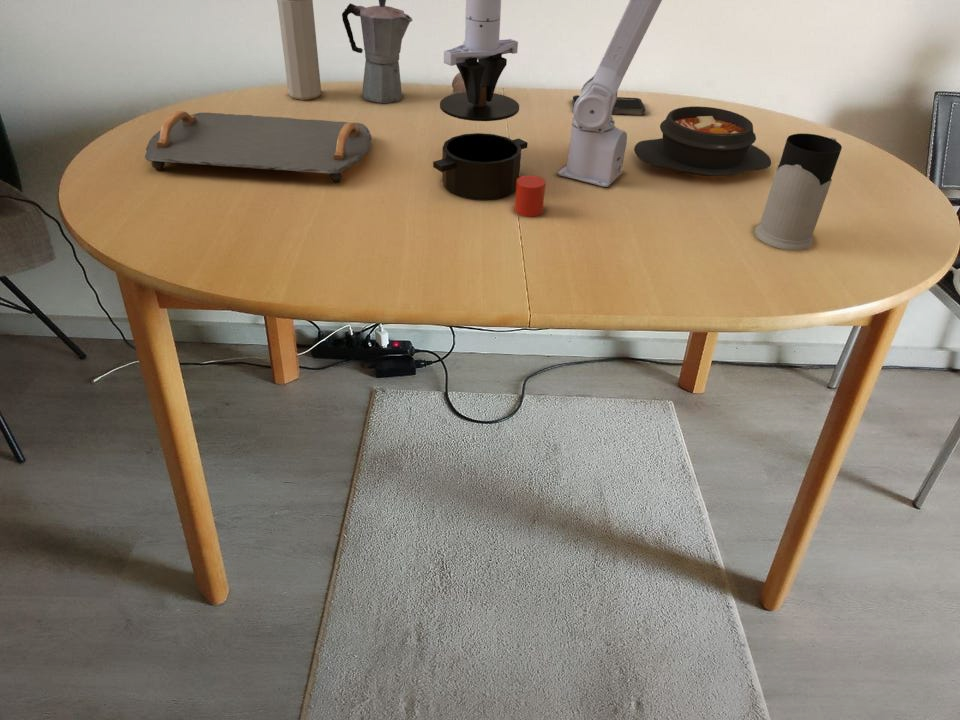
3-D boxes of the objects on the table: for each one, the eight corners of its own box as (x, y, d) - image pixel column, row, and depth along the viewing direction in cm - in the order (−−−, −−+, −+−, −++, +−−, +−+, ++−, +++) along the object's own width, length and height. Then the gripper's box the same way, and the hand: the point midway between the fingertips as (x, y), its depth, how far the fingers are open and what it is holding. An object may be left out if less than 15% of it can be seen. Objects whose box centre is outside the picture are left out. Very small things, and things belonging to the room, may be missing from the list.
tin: (547, 208, 118) (550, 179, 115) (535, 219, 115) (537, 189, 112) (522, 201, 120) (524, 172, 117) (509, 212, 116) (511, 182, 113)
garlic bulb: (470, 88, 165) (471, 51, 160) (491, 97, 161) (492, 59, 156) (443, 94, 161) (444, 56, 156) (464, 103, 157) (465, 65, 152)
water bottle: (320, 102, 154) (307, -30, 139) (283, 100, 154) (266, -32, 139) (328, 88, 162) (316, -38, 146) (292, 86, 161) (277, -40, 146)
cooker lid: (535, 114, 127) (537, 89, 125) (473, 130, 120) (474, 104, 117) (484, 92, 136) (485, 68, 133) (423, 106, 128) (423, 81, 126)
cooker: (545, 184, 125) (549, 148, 121) (461, 211, 116) (462, 173, 112) (497, 159, 133) (499, 125, 129) (415, 183, 124) (414, 146, 120)
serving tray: (130, 173, 123) (120, 137, 119) (186, 125, 141) (179, 92, 137) (356, 189, 121) (353, 153, 117) (382, 138, 139) (381, 106, 135)
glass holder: (744, 235, 113) (772, 142, 104) (783, 208, 121) (812, 118, 112) (799, 256, 108) (832, 159, 99) (835, 225, 117) (869, 134, 108)
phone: (572, 95, 160) (640, 97, 160) (572, 100, 161) (639, 103, 161) (575, 107, 154) (646, 110, 154) (574, 112, 154) (645, 115, 155)
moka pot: (408, 107, 153) (405, 4, 141) (339, 100, 156) (330, -2, 143) (420, 93, 161) (418, -6, 149) (353, 87, 163) (347, -12, 151)
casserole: (643, 184, 127) (652, 137, 122) (623, 143, 142) (630, 100, 136) (783, 187, 128) (798, 140, 123) (749, 146, 143) (761, 103, 138)
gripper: (500, 7, 125) (496, 88, 133) (432, 17, 117) (432, 102, 125) (528, 16, 120) (522, 98, 129) (459, 27, 113) (457, 114, 121)
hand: (479, 101), depth 127 cm, fingers closed on cooker lid, 2 cm apart
